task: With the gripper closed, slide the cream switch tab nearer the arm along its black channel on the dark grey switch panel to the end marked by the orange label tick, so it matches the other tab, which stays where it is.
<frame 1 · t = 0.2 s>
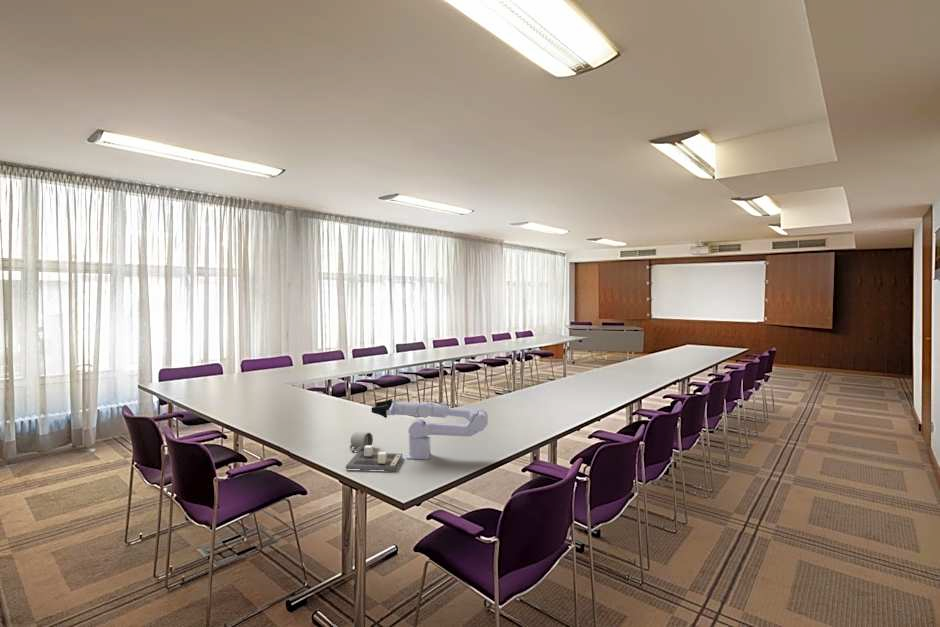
hand: (373, 407, 207), 22 cm above the table, tool horizontal, fingers open, 7 cm apart
switch tab b: (382, 457, 192), point 4 cm above the table, slide at 8.0 cm
switch tab a: (368, 450, 201), point 4 cm above the table, slide at 0.0 cm
ceramic mug: (360, 449, 216), on the table
switch panel: (375, 464, 196), on the table
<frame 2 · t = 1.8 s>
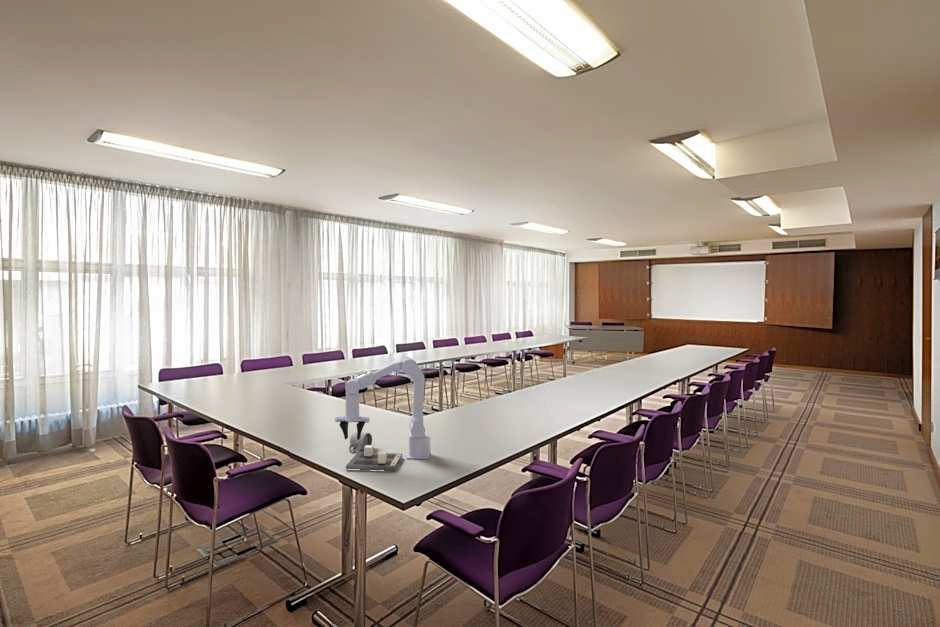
hand: (352, 438, 201), 9 cm above the table, tool pointing down, fingers open, 5 cm apart
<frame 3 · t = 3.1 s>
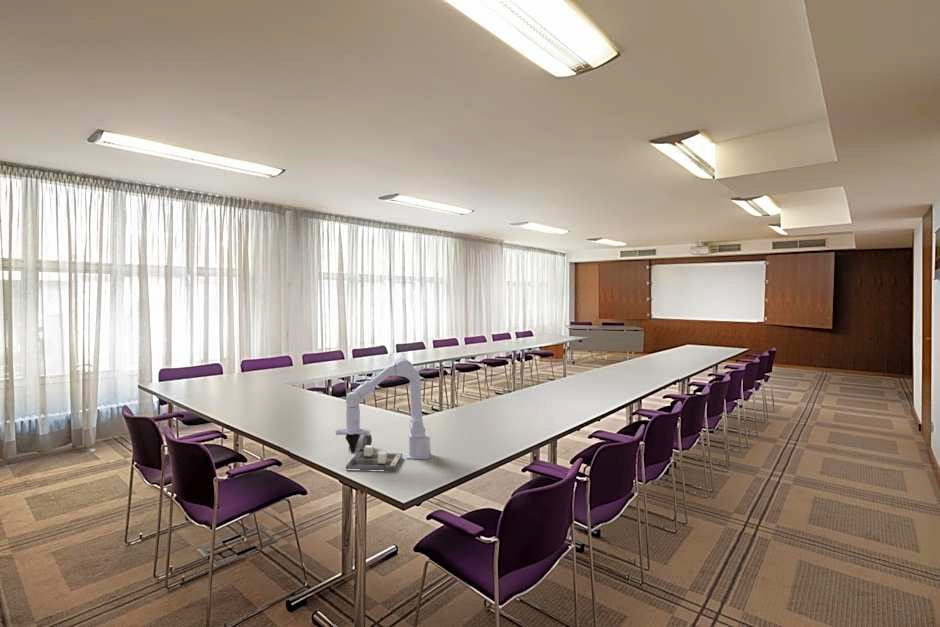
hand: (353, 451, 201), 4 cm above the table, tool pointing down, fingers closed
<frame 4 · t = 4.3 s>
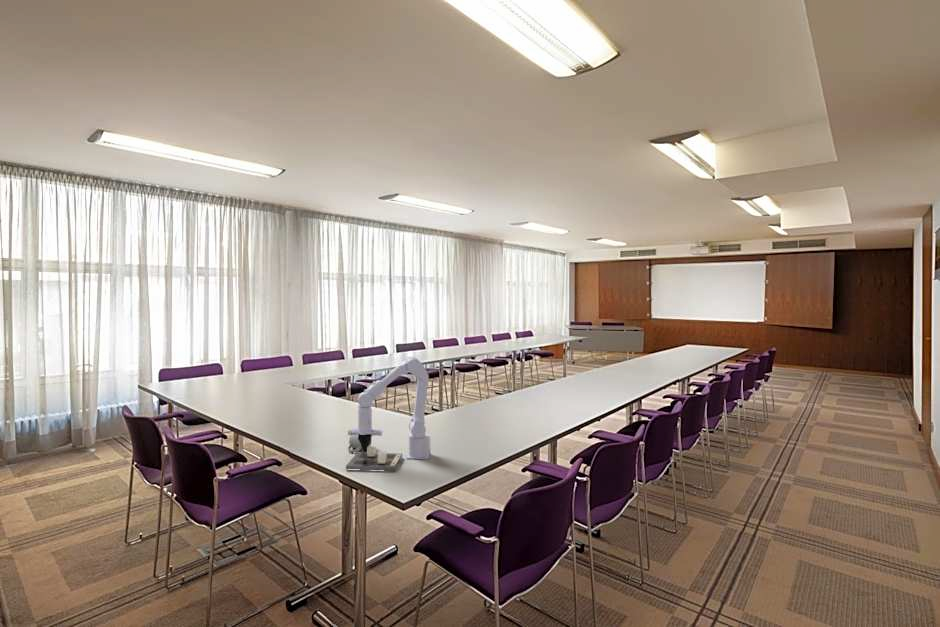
hand: (365, 451, 201), 4 cm above the table, tool pointing down, fingers closed
switch tab a: (371, 450, 200), point 4 cm above the table, slide at 1.3 cm, touching gripper
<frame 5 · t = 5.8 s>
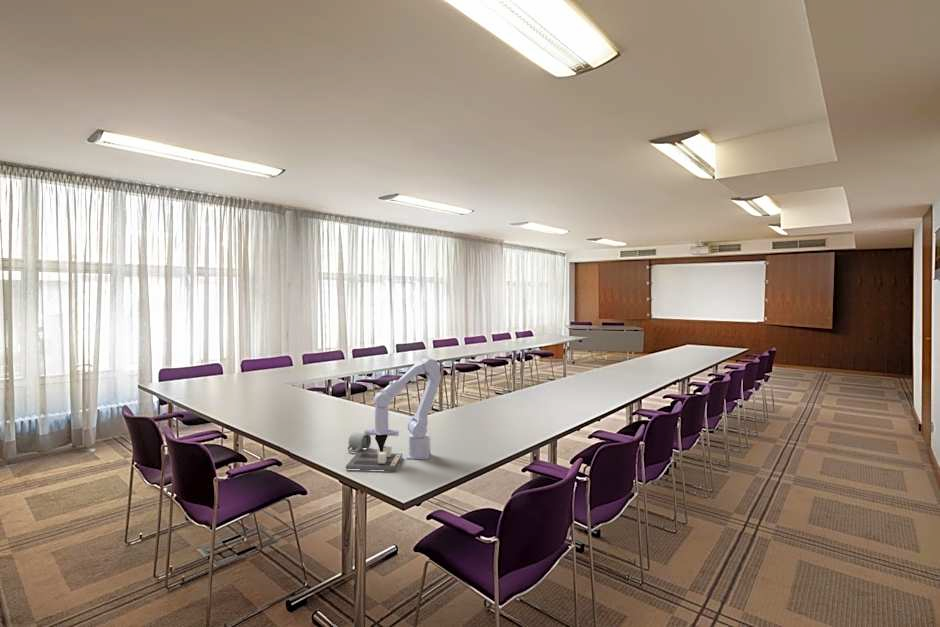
hand: (381, 451, 200), 4 cm above the table, tool pointing down, fingers closed
switch tab a: (387, 451, 200), point 4 cm above the table, slide at 8.2 cm, touching gripper
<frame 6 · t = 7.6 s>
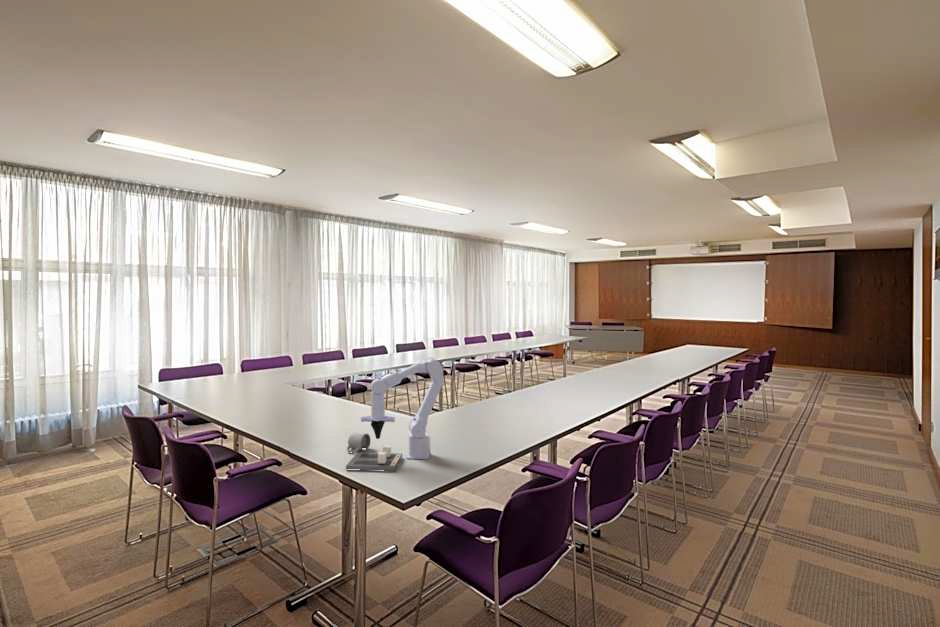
hand: (378, 438, 202), 9 cm above the table, tool pointing down, fingers closed
switch tab a: (386, 451, 200), point 4 cm above the table, slide at 8.1 cm
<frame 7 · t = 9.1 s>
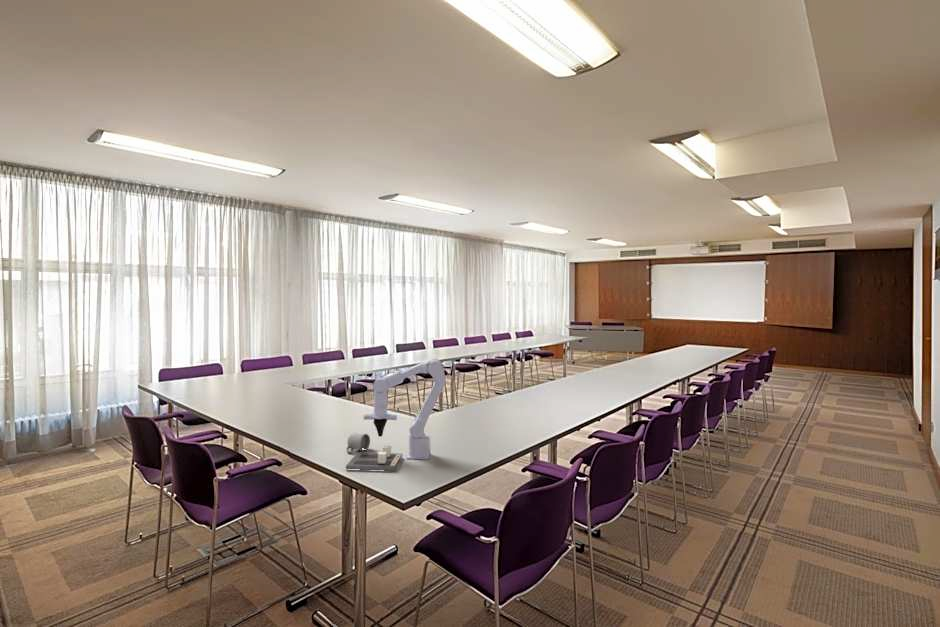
hand: (380, 435, 205), 9 cm above the table, tool pointing down, fingers closed
at the end: switch tab a slide at 8.1 cm; switch tab b slide at 8.0 cm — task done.
